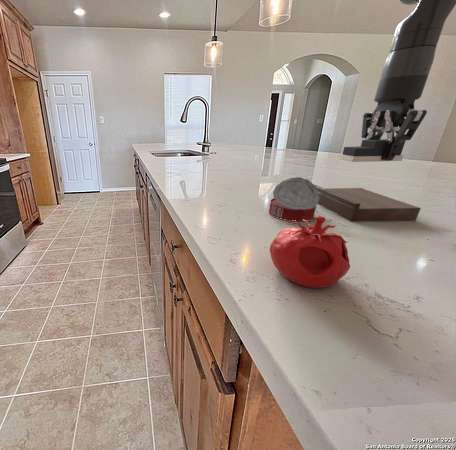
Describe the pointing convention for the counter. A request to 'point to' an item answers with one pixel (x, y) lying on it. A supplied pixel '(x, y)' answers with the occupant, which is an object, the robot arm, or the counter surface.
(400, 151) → the stepped dark block
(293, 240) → the pomegranate
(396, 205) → the brown flat slab
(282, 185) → the canned food
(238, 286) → the counter surface
